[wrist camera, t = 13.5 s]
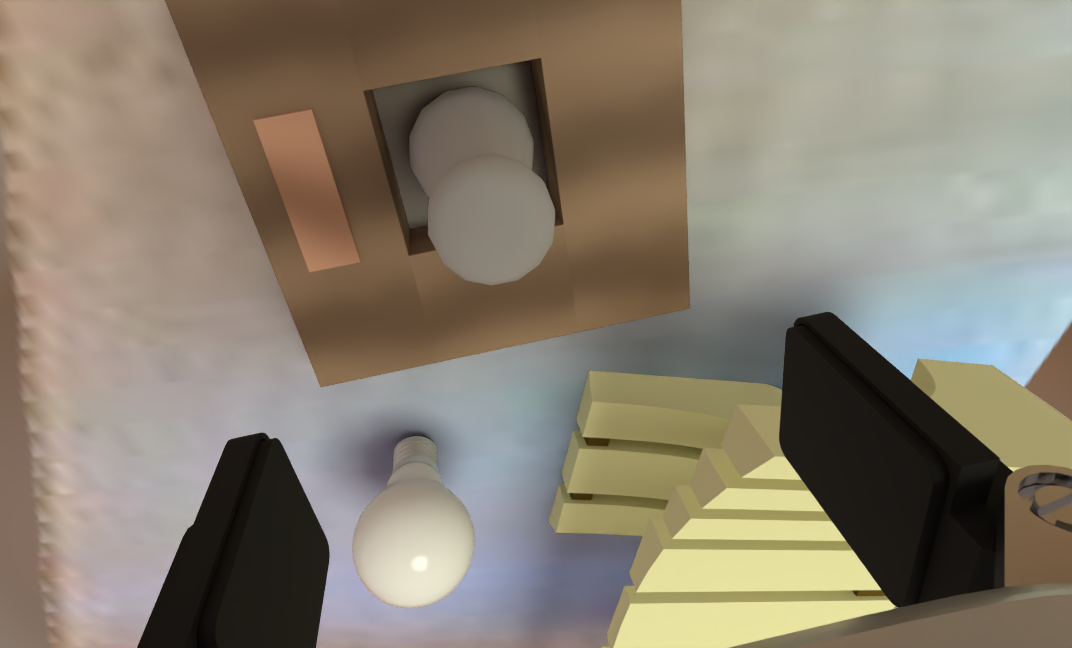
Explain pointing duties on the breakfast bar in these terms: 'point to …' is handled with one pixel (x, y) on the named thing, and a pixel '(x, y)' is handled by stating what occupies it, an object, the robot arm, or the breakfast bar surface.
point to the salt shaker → (481, 186)
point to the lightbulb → (413, 532)
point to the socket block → (370, 184)
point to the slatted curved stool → (746, 500)
